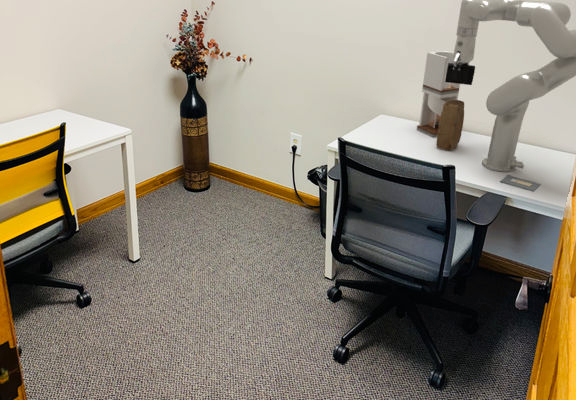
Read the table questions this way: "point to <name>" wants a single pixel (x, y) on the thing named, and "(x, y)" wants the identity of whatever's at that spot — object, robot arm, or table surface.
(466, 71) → the digital camera
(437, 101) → the toilet paper holder
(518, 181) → the card
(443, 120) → the brown rounded lump
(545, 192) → the table surface
